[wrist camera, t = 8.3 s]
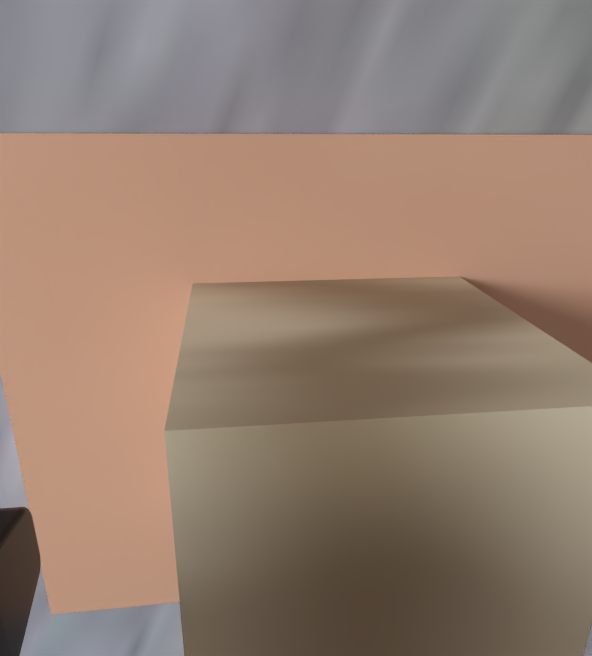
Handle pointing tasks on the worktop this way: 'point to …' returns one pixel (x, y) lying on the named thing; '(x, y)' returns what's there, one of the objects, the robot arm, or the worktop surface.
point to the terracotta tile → (232, 266)
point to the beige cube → (378, 473)
